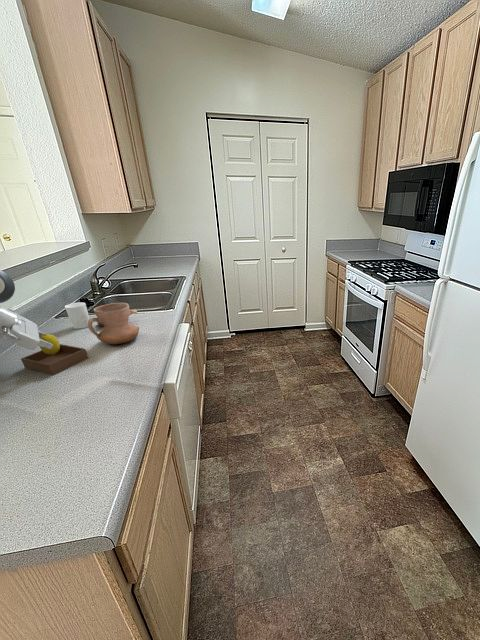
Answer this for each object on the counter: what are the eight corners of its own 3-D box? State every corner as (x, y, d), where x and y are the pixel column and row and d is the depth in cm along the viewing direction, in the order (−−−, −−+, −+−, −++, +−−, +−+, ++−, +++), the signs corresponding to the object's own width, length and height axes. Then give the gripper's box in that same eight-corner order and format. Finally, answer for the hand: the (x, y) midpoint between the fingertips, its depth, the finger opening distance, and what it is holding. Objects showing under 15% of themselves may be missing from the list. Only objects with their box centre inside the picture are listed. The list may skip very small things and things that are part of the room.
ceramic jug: (139, 330, 144) (130, 298, 138) (147, 340, 134) (138, 307, 127) (92, 340, 135) (81, 306, 129) (96, 352, 125) (85, 316, 118)
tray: (25, 368, 114) (20, 358, 113) (61, 352, 125) (58, 343, 124) (53, 375, 110) (49, 365, 108) (88, 358, 121) (85, 348, 119)
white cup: (70, 326, 150) (62, 305, 146) (89, 321, 155) (83, 301, 151) (74, 330, 145) (66, 309, 141) (94, 326, 150) (87, 304, 145)
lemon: (53, 351, 119) (45, 330, 115) (66, 352, 118) (59, 331, 114) (40, 358, 114) (31, 336, 110) (53, 359, 113) (44, 337, 109)
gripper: (8, 323, 97) (59, 345, 107) (9, 307, 112) (54, 327, 121) (-5, 341, 97) (47, 361, 106) (-2, 323, 111) (44, 342, 121)
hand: (51, 343), depth 114 cm, fingers closed on lemon, 5 cm apart
